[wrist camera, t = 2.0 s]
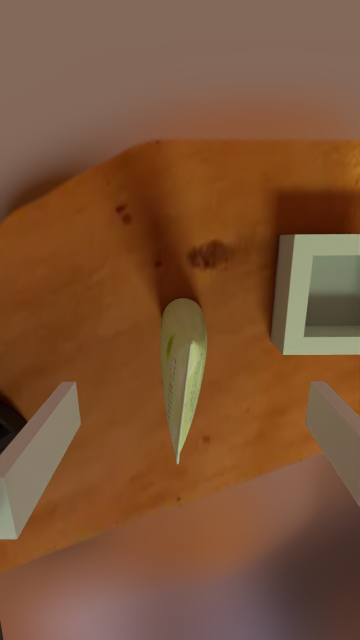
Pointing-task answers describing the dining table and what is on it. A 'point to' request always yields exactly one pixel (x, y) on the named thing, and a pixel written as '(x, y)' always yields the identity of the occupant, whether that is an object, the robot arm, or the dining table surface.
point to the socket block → (317, 295)
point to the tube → (182, 365)
